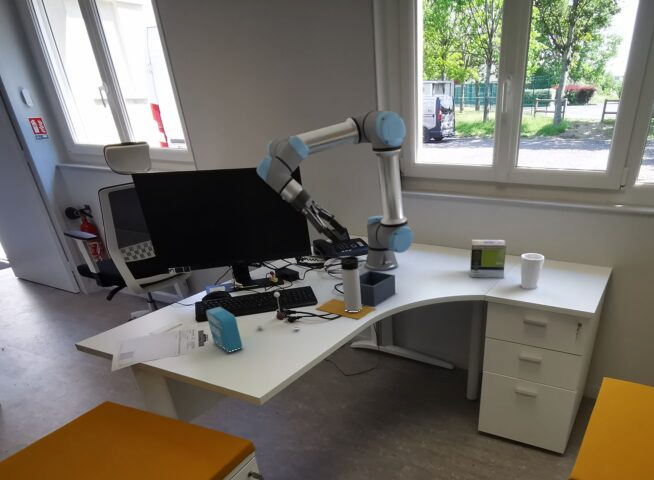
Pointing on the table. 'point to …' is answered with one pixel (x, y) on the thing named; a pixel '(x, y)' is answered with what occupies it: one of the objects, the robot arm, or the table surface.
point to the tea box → (487, 258)
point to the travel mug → (351, 284)
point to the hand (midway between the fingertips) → (341, 237)
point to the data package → (224, 329)
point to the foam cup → (530, 269)
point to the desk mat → (343, 309)
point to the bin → (376, 287)
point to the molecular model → (278, 315)
